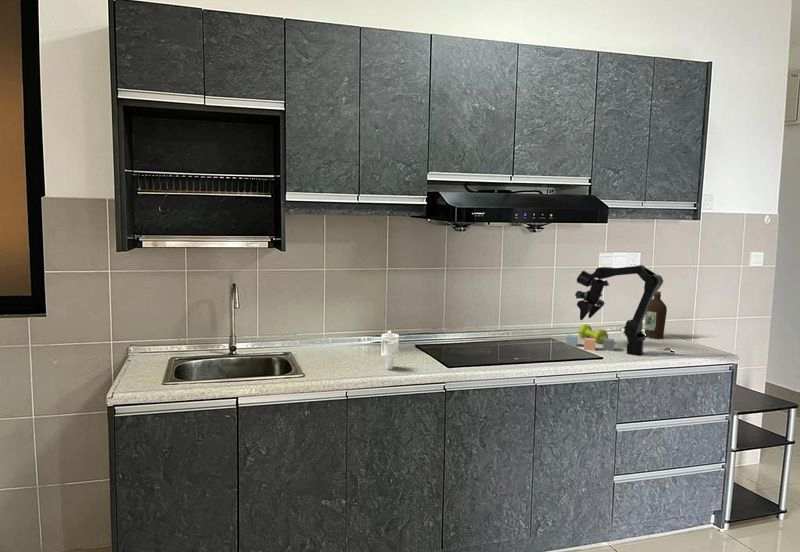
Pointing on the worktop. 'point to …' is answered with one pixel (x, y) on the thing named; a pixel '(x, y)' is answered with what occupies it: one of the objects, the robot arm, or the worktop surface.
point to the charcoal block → (608, 344)
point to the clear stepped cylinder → (389, 348)
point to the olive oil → (655, 317)
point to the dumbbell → (592, 333)
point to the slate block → (571, 340)
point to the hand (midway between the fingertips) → (585, 318)
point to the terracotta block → (589, 344)
